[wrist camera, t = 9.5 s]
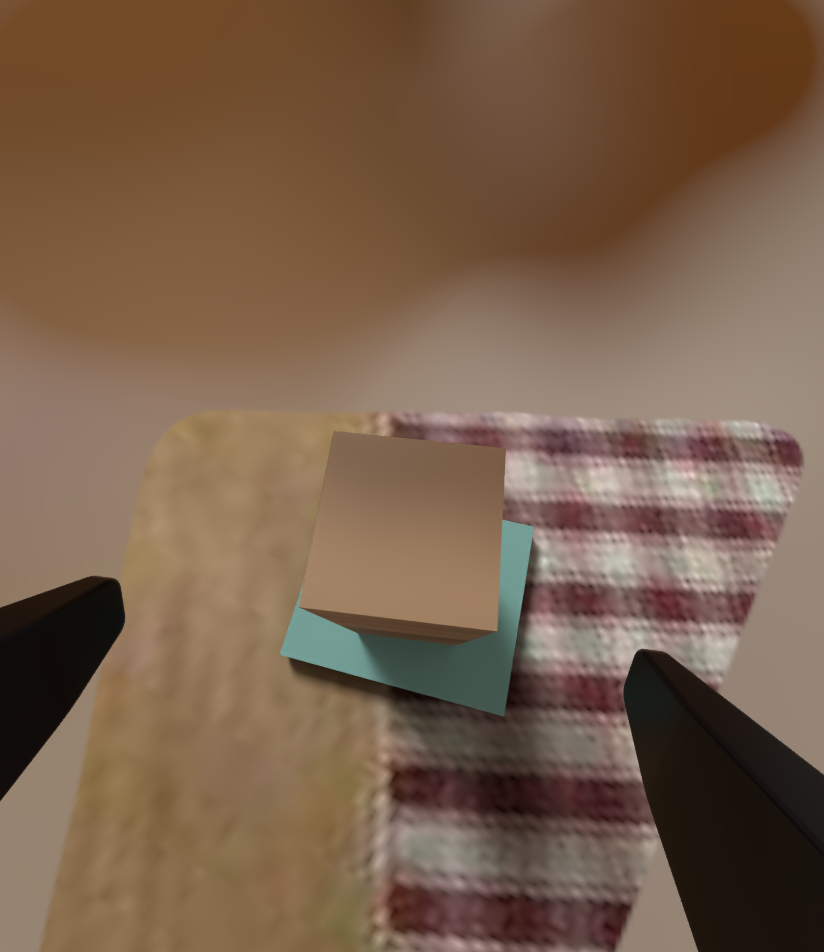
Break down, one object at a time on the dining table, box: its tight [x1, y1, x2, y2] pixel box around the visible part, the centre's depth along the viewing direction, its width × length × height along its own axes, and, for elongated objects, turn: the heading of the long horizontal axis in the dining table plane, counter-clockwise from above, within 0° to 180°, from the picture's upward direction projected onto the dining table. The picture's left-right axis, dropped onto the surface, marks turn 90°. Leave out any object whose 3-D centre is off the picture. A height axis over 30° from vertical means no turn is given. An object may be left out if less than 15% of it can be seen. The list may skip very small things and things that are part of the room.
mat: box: [280, 520, 534, 716], centre depth 20 cm, size 8×9×1 cm
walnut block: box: [299, 431, 506, 646], centre depth 15 cm, size 4×4×10 cm
